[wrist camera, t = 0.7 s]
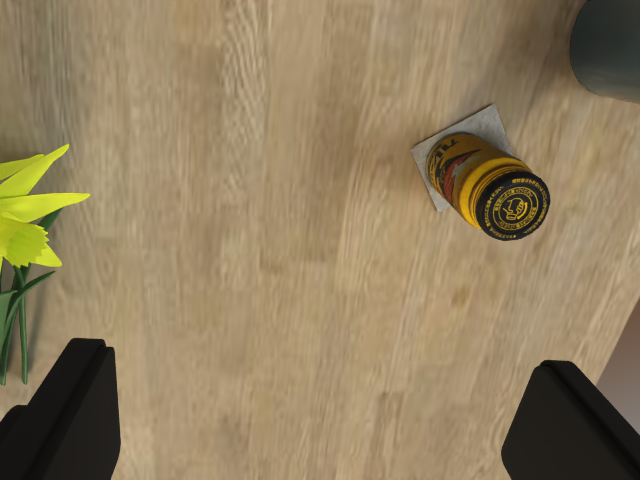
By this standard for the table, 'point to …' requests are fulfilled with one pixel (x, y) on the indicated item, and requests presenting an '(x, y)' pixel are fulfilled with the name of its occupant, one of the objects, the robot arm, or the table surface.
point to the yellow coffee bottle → (482, 177)
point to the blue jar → (608, 48)
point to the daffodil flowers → (25, 240)
